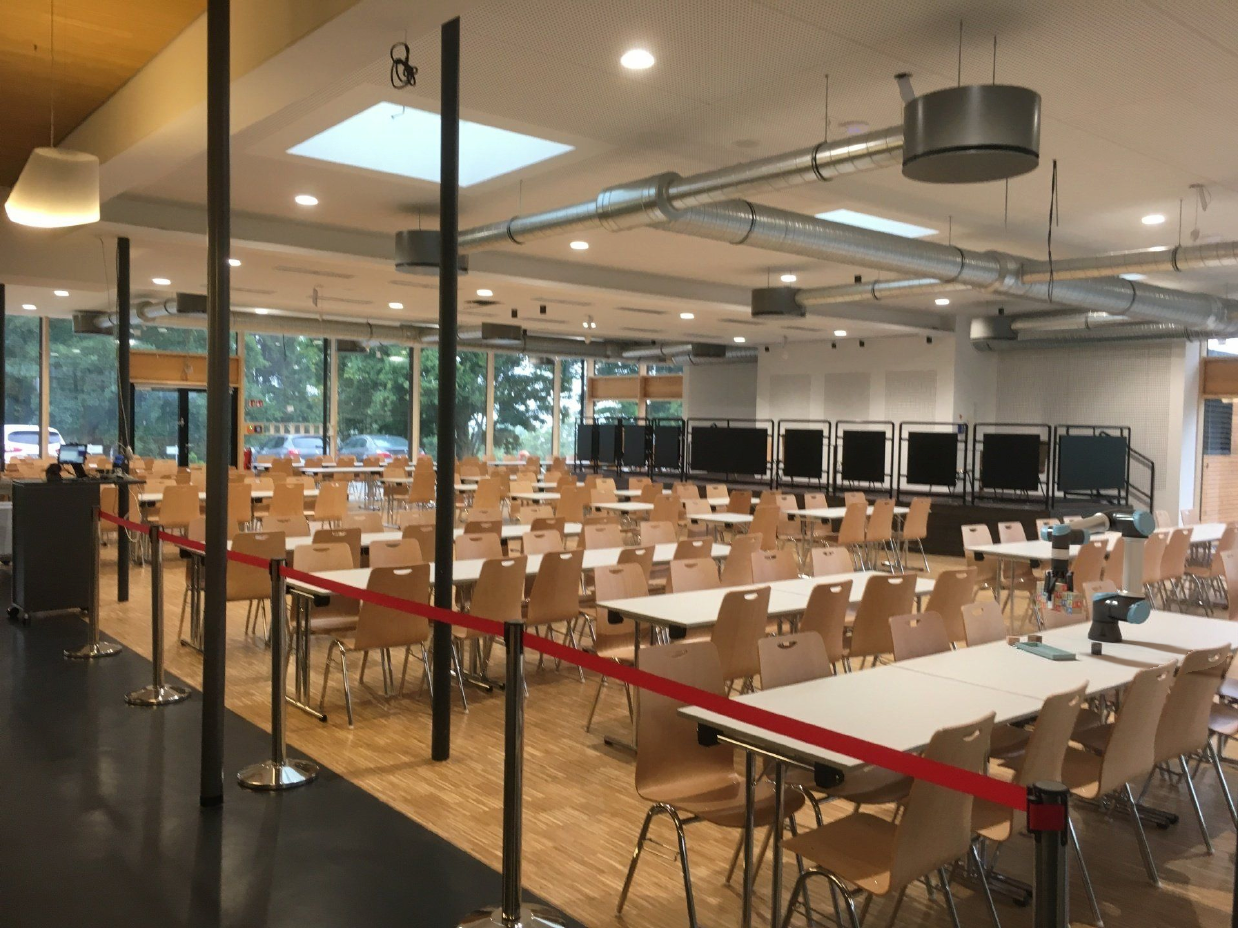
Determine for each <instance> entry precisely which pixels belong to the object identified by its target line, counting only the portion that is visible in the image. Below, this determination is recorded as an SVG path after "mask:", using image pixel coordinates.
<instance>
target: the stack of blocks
mask: <svg viewBox="0 0 1238 928" xmlns="http://www.w3.org/2000/svg"><path fill="white" fill-rule="evenodd" d="M1044 583H1045V580H1041V581H1040V580H1038V581H1036V602H1035V603H1036V604H1035V607H1036V608H1039V609H1044V610H1049V611H1053V612H1058V613H1063V614H1067V615H1082V614H1083V599H1084V594H1083V593H1080V592H1075V591H1074V592H1070V591H1067V584H1062V582H1061V583H1060V582H1056V584H1055V588H1054V590H1053V593H1052V594H1054V604H1053V609H1051V608H1048V601H1047V593H1046V592H1044V591H1043V590H1044Z"/></svg>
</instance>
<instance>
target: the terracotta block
mask: <svg viewBox="0 0 1238 928" xmlns="http://www.w3.org/2000/svg"><path fill="white" fill-rule="evenodd" d="M1020 639H1021V638H1020V636H1015V635H1006V636H1005V643H1007V644H1008V645H1015V642H1021V641H1020ZM1007 644H1006V645H1007ZM1008 645H1007V646H1008Z"/></svg>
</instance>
